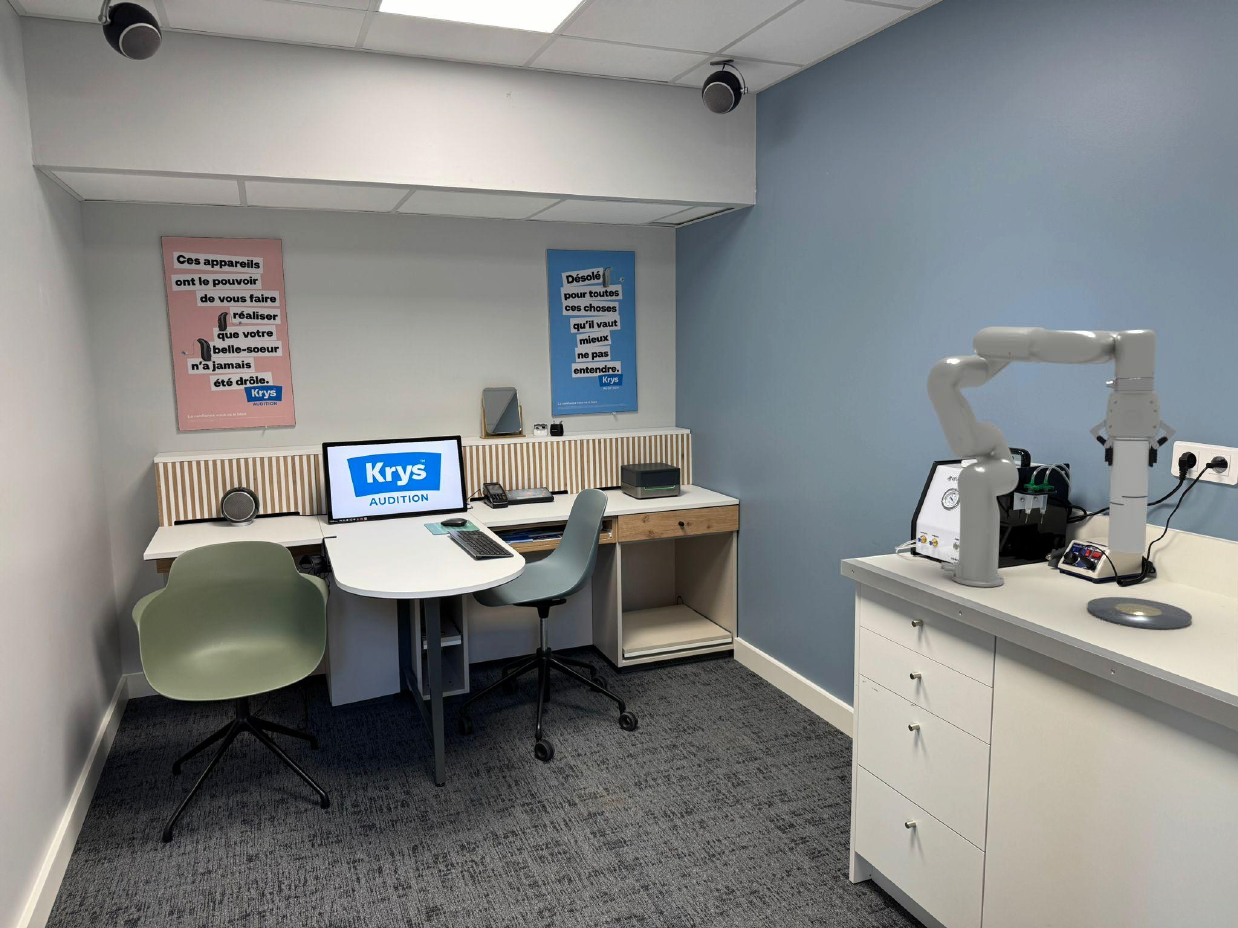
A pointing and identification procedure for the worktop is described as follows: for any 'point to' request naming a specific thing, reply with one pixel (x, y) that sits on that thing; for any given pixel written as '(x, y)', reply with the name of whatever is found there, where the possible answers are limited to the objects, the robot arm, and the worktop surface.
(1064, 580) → the worktop surface
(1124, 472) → the cylindrical container
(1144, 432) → the robot arm
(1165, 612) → the plate
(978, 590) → the worktop surface
